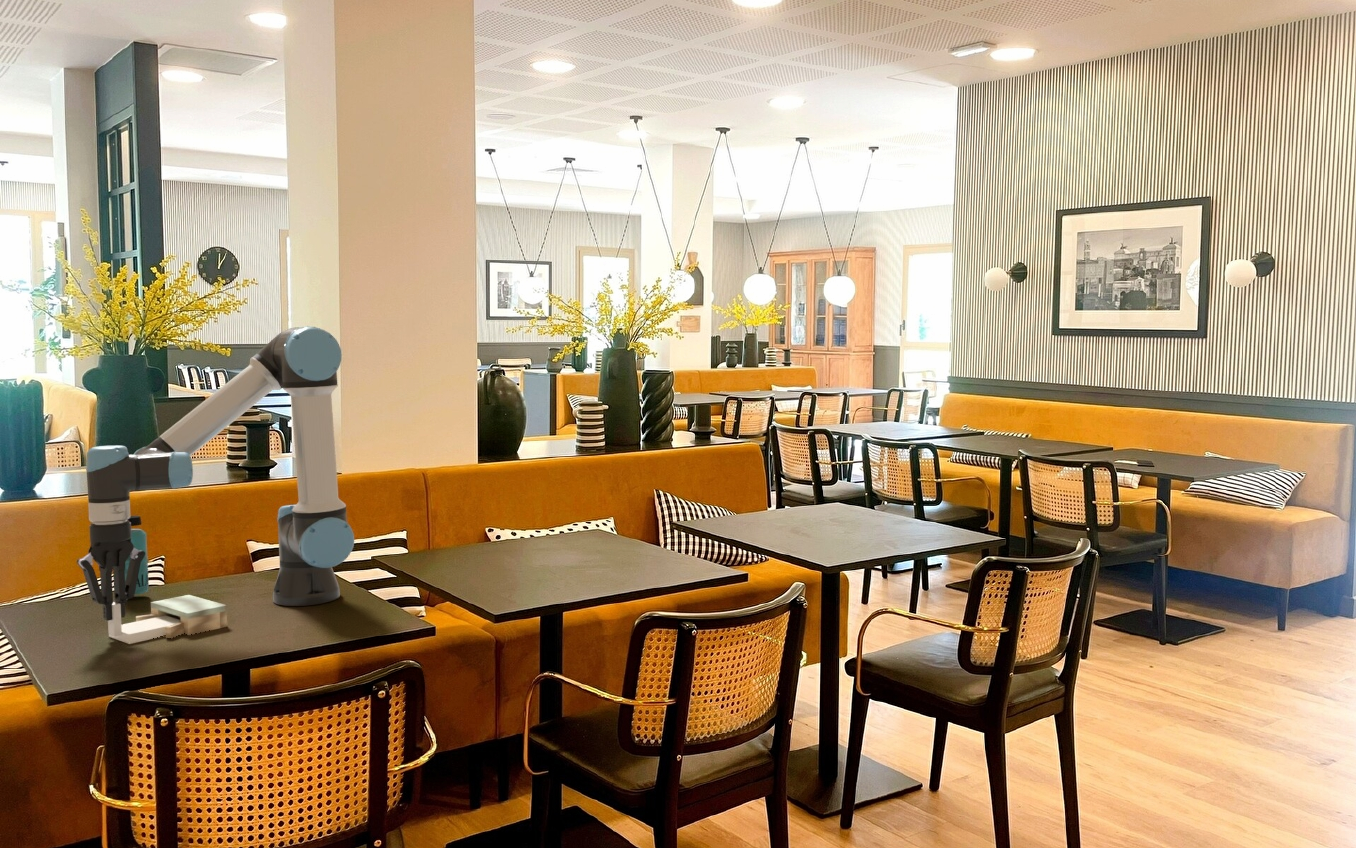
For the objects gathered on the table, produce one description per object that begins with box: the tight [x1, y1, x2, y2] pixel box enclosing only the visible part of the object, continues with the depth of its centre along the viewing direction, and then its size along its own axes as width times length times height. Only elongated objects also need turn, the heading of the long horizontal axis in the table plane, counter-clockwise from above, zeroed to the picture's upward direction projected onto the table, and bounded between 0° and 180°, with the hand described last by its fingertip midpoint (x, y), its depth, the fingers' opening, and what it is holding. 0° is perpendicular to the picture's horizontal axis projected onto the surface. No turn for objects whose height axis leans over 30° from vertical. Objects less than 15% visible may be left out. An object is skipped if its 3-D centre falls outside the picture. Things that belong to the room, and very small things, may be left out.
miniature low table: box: [135, 594, 228, 639], centre depth 230 cm, size 13×16×5 cm
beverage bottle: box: [125, 515, 150, 595], centre depth 256 cm, size 6×7×20 cm
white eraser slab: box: [108, 615, 181, 645], centre depth 225 cm, size 12×9×2 cm
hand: (115, 634), depth 219 cm, fingers closed
